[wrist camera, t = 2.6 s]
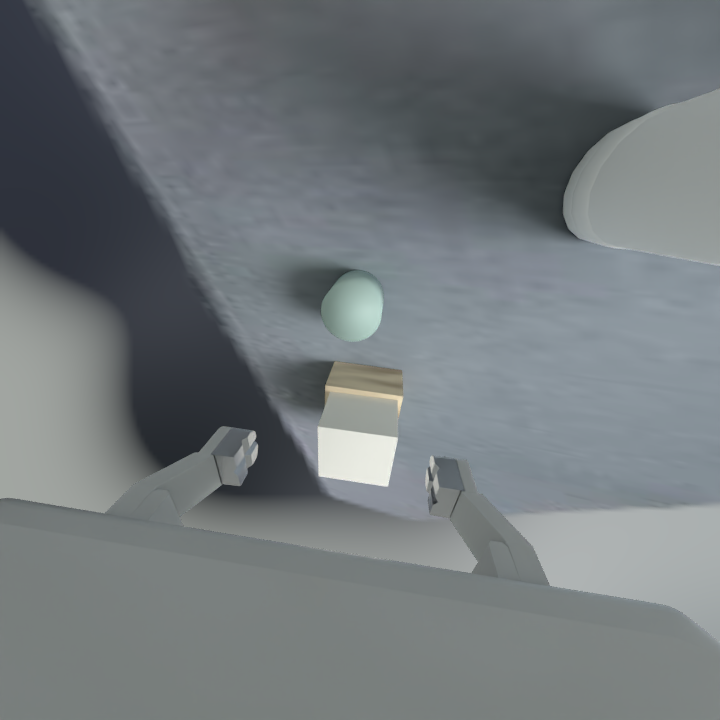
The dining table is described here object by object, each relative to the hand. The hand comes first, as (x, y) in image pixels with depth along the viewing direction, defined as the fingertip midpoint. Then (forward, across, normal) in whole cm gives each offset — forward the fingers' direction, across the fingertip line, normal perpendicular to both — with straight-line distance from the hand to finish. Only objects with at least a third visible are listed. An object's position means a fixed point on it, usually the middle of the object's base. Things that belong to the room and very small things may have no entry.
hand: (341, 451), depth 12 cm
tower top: (+13, 0, +10) cm, 17 cm away
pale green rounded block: (+18, +1, -3) cm, 18 cm away
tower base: (+18, 0, +9) cm, 21 cm away
